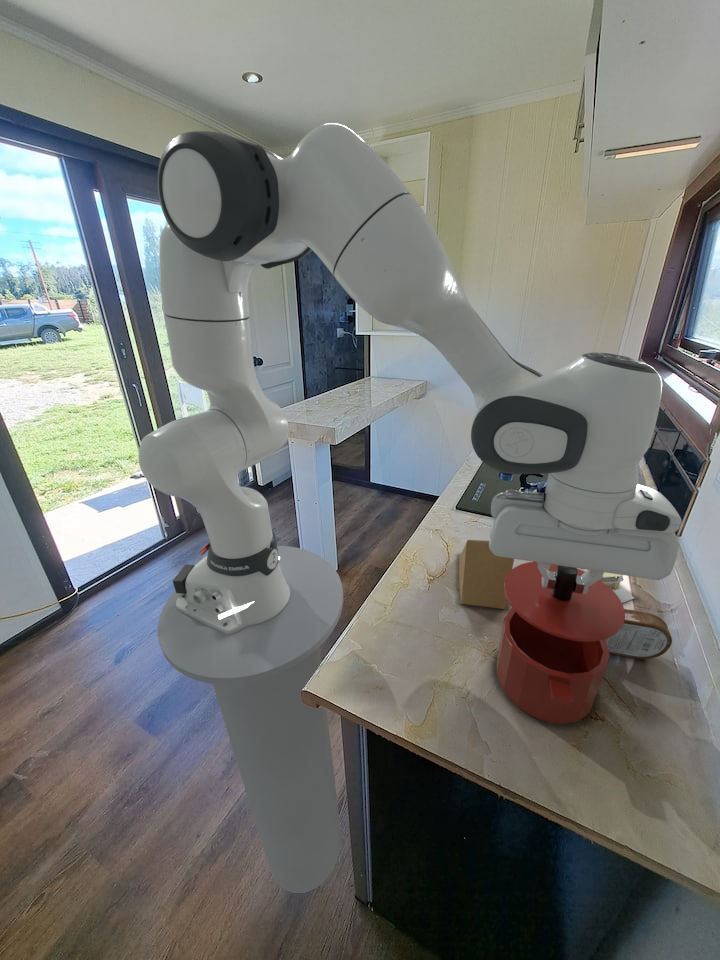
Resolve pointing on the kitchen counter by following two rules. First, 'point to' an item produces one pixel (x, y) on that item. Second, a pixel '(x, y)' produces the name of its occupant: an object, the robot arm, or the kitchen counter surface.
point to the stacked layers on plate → (615, 585)
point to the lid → (564, 604)
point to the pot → (549, 671)
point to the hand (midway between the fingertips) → (563, 588)
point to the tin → (640, 636)
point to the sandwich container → (482, 575)
